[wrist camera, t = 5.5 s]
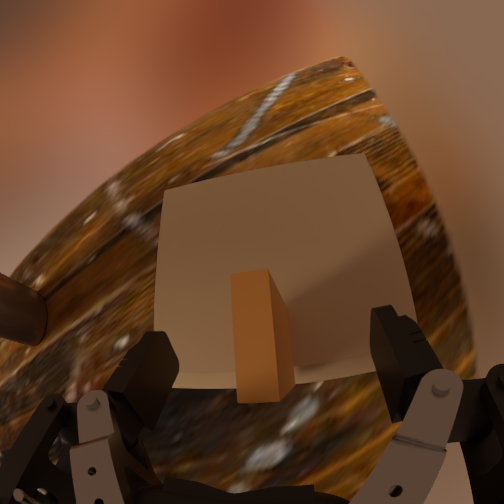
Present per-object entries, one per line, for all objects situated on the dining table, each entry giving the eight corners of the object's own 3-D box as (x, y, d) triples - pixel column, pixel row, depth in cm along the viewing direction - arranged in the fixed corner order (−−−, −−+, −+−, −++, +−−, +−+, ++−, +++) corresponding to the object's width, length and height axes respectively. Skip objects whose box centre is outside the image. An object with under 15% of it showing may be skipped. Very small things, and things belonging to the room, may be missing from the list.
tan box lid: (169, 196, 20) (119, 132, 14) (363, 160, 18) (371, 76, 11) (161, 387, 15) (73, 386, 8) (417, 360, 12) (489, 349, 6)
